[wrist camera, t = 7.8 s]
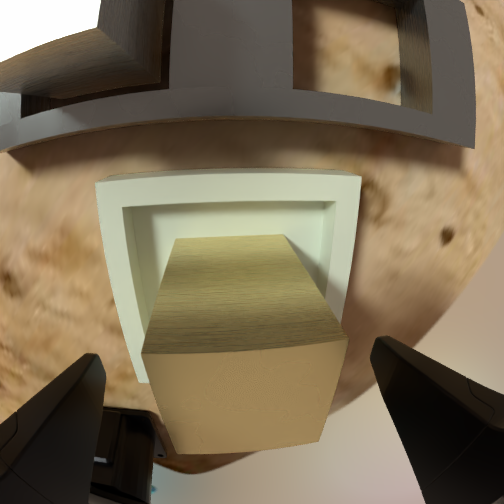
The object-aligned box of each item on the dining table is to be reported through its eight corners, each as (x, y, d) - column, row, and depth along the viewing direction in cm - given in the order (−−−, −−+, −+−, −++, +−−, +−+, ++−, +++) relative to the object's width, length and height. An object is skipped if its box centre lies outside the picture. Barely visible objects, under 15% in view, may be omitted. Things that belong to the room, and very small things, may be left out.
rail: (443, 143, 12) (474, 149, 10) (5, 151, 10) (-25, 158, 7) (436, 12, 9) (463, 3, 7) (18, 9, 7) (-7, -2, 4)
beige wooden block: (282, 234, 12) (349, 339, 6) (278, 321, 14) (318, 441, 8) (175, 238, 12) (140, 353, 6) (186, 326, 14) (177, 453, 7)
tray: (319, 350, 16) (329, 371, 14) (144, 359, 15) (139, 382, 13) (342, 170, 12) (361, 176, 11) (110, 175, 11) (95, 182, 9)
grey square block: (160, 82, 10) (96, 26, 4) (64, 99, 9) (-49, 90, 3) (166, -7, 8) (131, -104, 2) (72, 13, 8) (-12, -42, 1)
